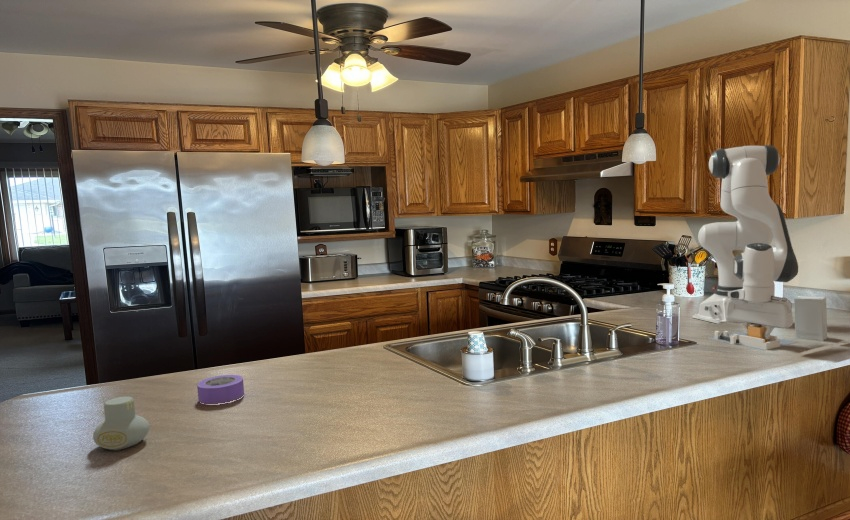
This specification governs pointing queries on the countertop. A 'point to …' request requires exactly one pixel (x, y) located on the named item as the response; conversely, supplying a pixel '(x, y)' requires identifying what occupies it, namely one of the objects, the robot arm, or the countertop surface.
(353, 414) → the countertop surface
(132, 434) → the air freshener
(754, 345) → the board
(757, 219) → the robot arm
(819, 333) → the skincare box
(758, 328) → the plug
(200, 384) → the tape roll
